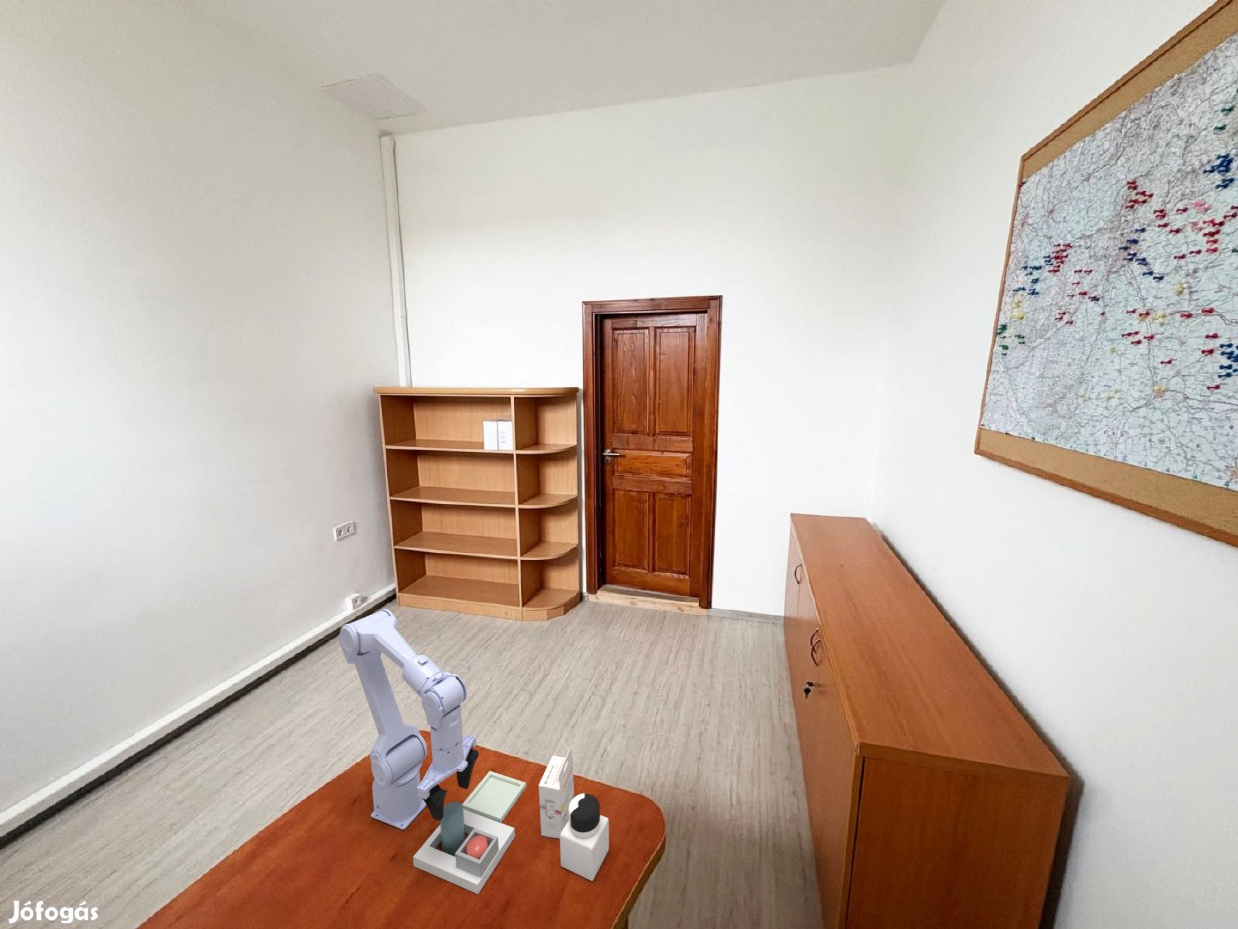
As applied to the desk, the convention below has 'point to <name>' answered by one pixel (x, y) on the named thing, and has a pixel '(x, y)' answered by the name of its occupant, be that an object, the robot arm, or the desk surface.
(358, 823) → the desk surface
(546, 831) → the ink cartridge box
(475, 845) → the release plunger
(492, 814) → the tray
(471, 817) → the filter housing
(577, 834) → the medicine bottle
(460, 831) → the cylinder
